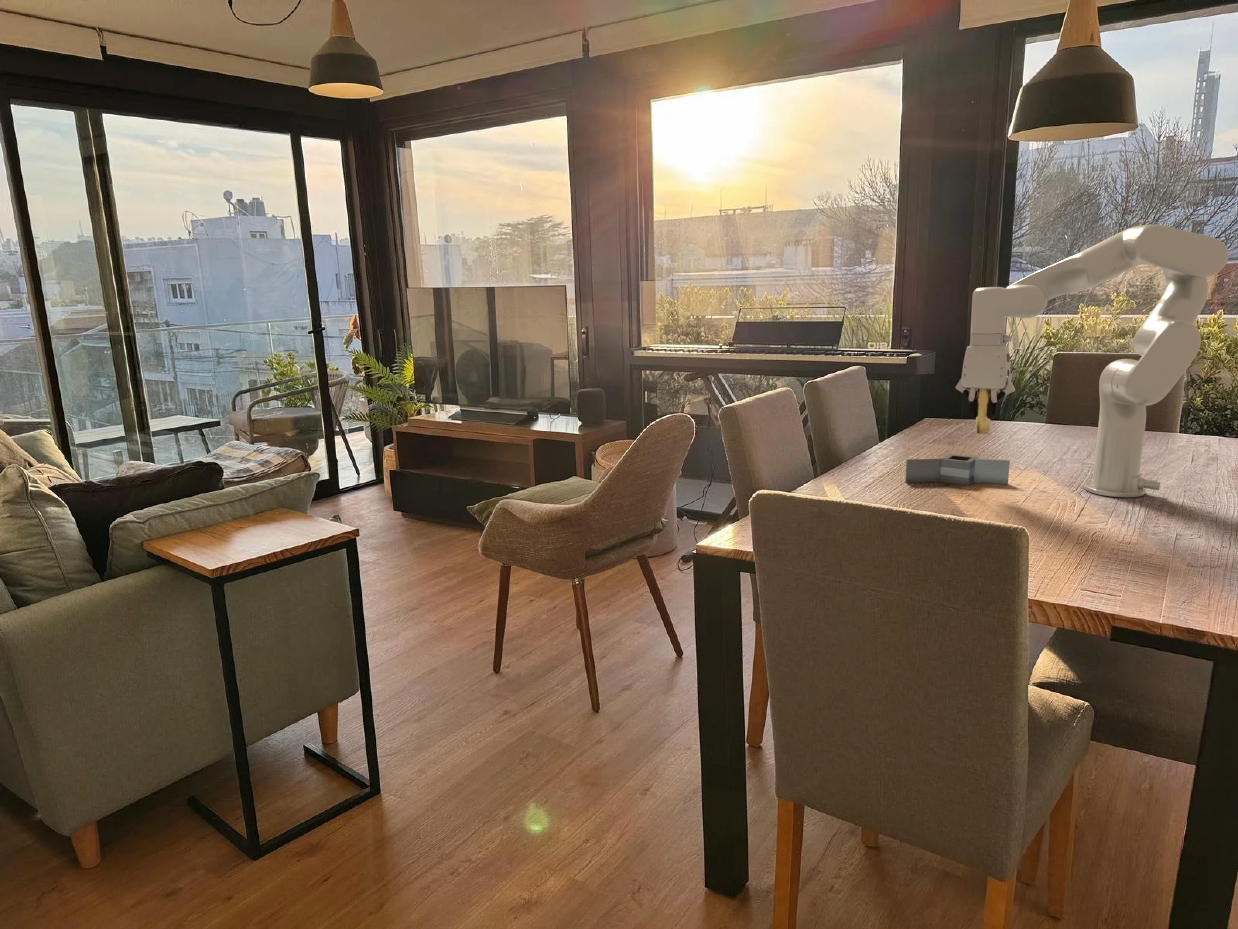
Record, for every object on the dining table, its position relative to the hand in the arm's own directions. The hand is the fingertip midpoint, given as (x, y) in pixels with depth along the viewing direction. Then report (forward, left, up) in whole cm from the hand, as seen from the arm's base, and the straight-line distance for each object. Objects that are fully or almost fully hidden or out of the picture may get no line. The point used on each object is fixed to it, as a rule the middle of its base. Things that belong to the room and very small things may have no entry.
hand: (983, 417), depth 201 cm
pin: (0, 0, -4) cm, 4 cm away
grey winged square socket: (+6, -3, -18) cm, 19 cm away
